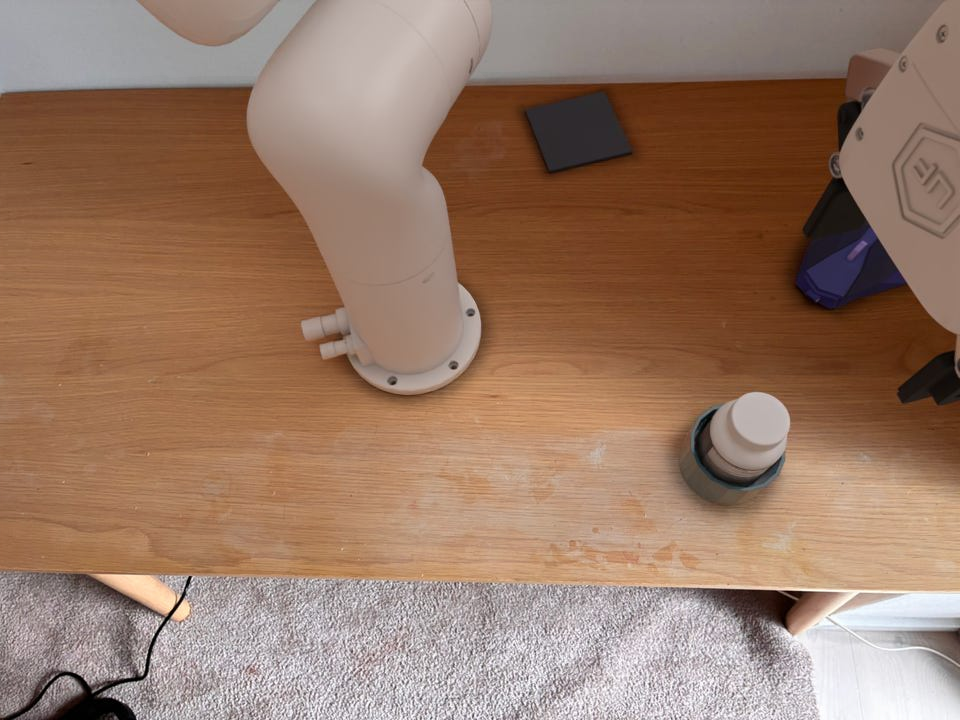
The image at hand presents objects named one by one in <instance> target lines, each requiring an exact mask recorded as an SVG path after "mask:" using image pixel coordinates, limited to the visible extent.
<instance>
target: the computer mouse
mask: <svg viewBox="0 0 960 720" xmlns="http://www.w3.org/2000/svg"><path fill="white" fill-rule="evenodd" d="M795 279H796V282H795V286H797V287H798V288H799V289H800V290H801V291H802V292H803V293H804V295H805V296H806V297H807V298H808V299H809V300H812V301H813V302H815V303H818V304H820V305H821V306H824V307H825V308H827V309H830V310H832V309H834V310H837V309H839V308H841V307H843V306H846V305H847V304H849V303H851V302H853V301H855V300H857V299H861V298H864V297H867V296H871V295H874V294H877V293H881V292H884V291H888V290H891V289H894V288H898V287H901V286H905V285H908V284H907V282H906V280H905V279H904V277H903V276H902V274H901V273H900V271H899V270H898V268H897V267H896V265H895V264H894V262H893V261H892V259H891V257H890V256H889V254H888V253H887V251H886V250H885V248H884V246H883V245H882V243H881V242H880V240H879V239H878V237H877V235H876V234H875V232H874V231H873V229H872V227H871V226H870V224H869V222H868V221H866V223H865V224H864V225H863V226H862V227H861V228H859V229H856V230H852V231H848V232H844V233H839V234H835V235H831V236H827V237H823V238H819V239H815V240H811V242H810V243H809V244H808V245H807V248H806V252H805V254H804V255H803V258H802V261H801V263H800V266H799V269H798V270H797V274H796V277H795Z"/></svg>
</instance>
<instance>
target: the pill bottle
mask: <svg viewBox="0 0 960 720" xmlns="http://www.w3.org/2000/svg"><path fill="white" fill-rule="evenodd" d="M723 404H724V405H722V406H721V407H720V408H719V409H718V410H717V411H716V413H715V414H714V416H713V417H712V419H711V420H710V422H709V423H708V425H707V426H706V428H705V429H704V431H703V432H702V433H701V435H700V436H699V438H698V439H697V441H696V443H695V451H696V453H697V456H698V458H699V460H700V463H701V465H702V466H703V467H704V468H705V469H706V470H707V471H708V472H709V473H710V474H711V475H712V476H713V477H714V478H716V479H718V480H720V481H722V482H724V483H726V484H728V485H730V486H739V487H748V486H750V485H751V484H752V483H754V482H755V481H756V480H757V479H758V478H759V477H760V476H761V475H762V474H763V473H764V472H765V471H766V470H768V469H769V468H770V467H771V466H772V465H773V464H774V463H775V462H776V461H777V460H778V459H779V458H780V457H781V456H782V454H783V452H784V450H785V451H786V448H787V445H788V434H789V430H790V429H791V417H790V414H789V411H788V409H787V408H786V406H785V404H783V402H782V401H781V400H779V399H778V398H776V397H775V396H773V395H771V394H769V393H766V392H761V391H752V392H747V393H745V394H743V395H741V396H739V397H738V398H735V399H733V400H730V401H727V402H725V403H723Z"/></svg>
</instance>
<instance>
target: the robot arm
mask: <svg viewBox="0 0 960 720" xmlns="http://www.w3.org/2000/svg"><path fill="white" fill-rule="evenodd" d="M136 2H137V3H139V5H141V6H142V7H143V8H144V9H145V10H146V11H147V12H148V13H149V14H150V15H152V16H153V17H154V18H155V19H156V20H157V21H158V22H160V23H161V24H162V25H163V26H165V27H166V28H168V29H169V30H170V31H172V32H173V33H175V34H176V35H177V36H179V37H181V38H183V39H185V40H187V41H189V42H191V43H192V44H193V43H194V44H195V45H199V46H205V47H215V48H216V47H221V46H224V45H225V46H226V45H228V44H231V43H233V42H235V41H236V40H238V39H241V38H242V37H243V36H245V35H247V34H249V32H250V31H251V30H253V29H254V28H255V27H256V26H258V25H259V24H260V23H261V22H262V21H263V19H265V18H266V16H268V14H269V13H271V12H272V11H273V9H274V8H275V7H276V6H277V5H278V3H280V2H281V0H136ZM492 30H493V9H492V2H491V0H315V1H314V2H313V3H312V4H311V6H310V7H309V8H308V9H307V10H306V11H305V13H304V14H303V15H302V16H301V18H300V19H299V20H298V22H297V23H296V24H295V25H294V26H293V28H292V29H291V30H290V31H289V32H288V34H287V35H286V36H285V38H283V40H282V41H281V42H280V43H279V44H278V46H277V47H276V49H275V50H274V52H272V54H271V56H270V57H269V58H268V59H267V61H266V63H265V64H264V66H263V68H262V69H261V71H260V73H259V75H258V77H257V79H256V81H255V83H254V85H253V87H252V90H251V92H250V95H249V99H248V102H247V103H248V104H247V108H246V129H247V134H248V139H249V141H250V144H251V146H252V147H253V149H254V152H255V153H256V155H257V156H258V158H259V160H260V161H261V162H262V164H263V165H264V167H265V168H266V170H267V171H268V172H269V173H270V174H271V175H272V177H273V178H274V180H275V181H276V182H277V183H278V184H279V185H280V187H281V189H283V190H284V192H285V193H286V194H287V195H288V197H289V198H290V199H291V201H292V202H293V203H294V205H295V207H296V208H297V210H298V211H299V212H300V214H301V216H302V218H303V220H304V221H305V224H307V227H308V229H309V231H310V233H311V235H312V237H313V240H314V242H315V244H316V246H317V248H318V250H319V253H320V255H321V257H322V259H323V261H324V263H325V265H326V268H327V270H328V272H329V275H330V276H331V279H332V281H333V284H334V286H335V288H336V291H337V292H338V295H339V298H340V300H341V302H342V304H343V307H339V308H336V309H335V313H331V314H328V315H323V316H322V315H321V316H320V315H319V316H315V317H311V318H307V319H303V320H300V328H301V332H302V334H303V337H304V340H305V341H306V342H307V343H308V342H312V341H316V340H320V339H325V338H327V337H328V336H332V335H335V334H340V333H341V336H342V339H340V340H336V341H334V340H332V341H329V342H325V343H321V344H319V351H320V355H321V358H322V361H325V360H330V359H333V358H337V357H338V356H343V355H347V358H348V360H349V363H351V366H352V367H353V369H354V370H355V371H356V373H357V374H358V375H359V376H360V377H361V378H362V379H363V380H365V381H366V382H367V383H368V384H370V385H371V386H373V387H375V388H377V389H379V390H381V391H382V392H386V393H391V394H395V395H404V396H411V395H412V396H414V395H423V394H427V393H430V392H431V393H432V392H434V391H437V390H439V389H441V388H444V387H446V386H447V385H449V384H451V383H452V382H454V381H455V380H457V379H458V378H459V377H460V376H461V375H462V374H463V373H464V372H465V371H466V370H467V369H468V368H469V366H470V365H471V363H472V362H473V361H474V360H475V357H476V355H477V352H478V351H479V348H480V344H481V339H482V320H481V313H480V310H479V308H478V305H477V303H476V301H475V300H474V297H473V296H472V294H471V293H470V291H468V290H467V289H466V287H464V286H463V285H462V284H461V283H460V282H459V281H458V274H457V268H456V260H455V251H454V246H453V240H452V239H453V238H452V233H451V226H450V220H449V213H448V212H449V211H448V206H447V201H446V197H445V195H444V191H443V188H442V186H441V184H440V183H439V181H438V179H437V178H436V177H435V176H434V174H433V173H432V172H431V171H430V170H428V169H427V168H426V167H424V166H423V163H424V160H425V157H426V153H427V152H428V149H429V147H430V146H431V143H432V142H433V140H434V138H435V136H436V134H438V131H439V129H440V128H441V126H442V125H443V124H444V121H446V118H447V117H448V114H449V112H450V110H451V109H452V107H453V106H454V104H455V102H456V101H457V99H458V97H459V96H460V94H461V93H462V91H463V90H464V88H465V87H466V86H467V84H468V82H469V81H470V79H471V77H472V75H473V74H474V72H475V71H476V69H477V67H478V66H479V64H480V63H481V62H482V61H481V60H482V59H483V56H484V55H485V53H486V52H487V51H486V50H487V48H488V46H489V43H490V39H491V36H492ZM847 67H848V68H847V73H846V81H845V87H844V94H843V96H844V97H846V99H845V102H844V103H841V104H840V105H839V107H838V109H837V115H836V120H837V121H836V123H837V124H836V125H837V145H838V151H836V152H833V153H831V154H830V156H829V158H828V162H827V163H828V171H829V173H830V175H831V176H832V178H831V179H830V181H829V182H828V184H827V186H826V187H825V189H824V190H823V193H822V194H821V196H820V198H819V199H818V201H817V203H816V204H815V206H814V208H813V209H812V211H811V213H810V214H809V216H808V218H807V220H806V221H805V223H804V224H803V226H802V230H801V231H802V232H803V234H804V235H805V238H806V239H810V240H811V241H813V240H815V239H819V238H823V237H827V236H831V235H835V234H839V233H844V232H848V231H852V230H856V229H859V228H861V227H862V226H863V225H864V224H865V223H866V221H868V222H869V224H870V226H871V227H872V229H873V231H874V232H875V234H876V235H877V237H878V239H879V240H880V242H881V243H882V245H883V246H884V248H885V250H886V251H887V253H888V254H889V256H890V257H891V259H892V261H893V262H894V264H895V265H896V267H897V268H898V270H899V271H900V273H901V274H902V276H903V277H904V279H905V280H906V282H907V284H906V285H908V287H909V289H910V290H911V292H912V293H913V294H914V296H915V297H916V299H917V300H918V301H919V303H920V305H922V307H923V308H924V310H925V312H927V314H928V315H929V316H931V318H932V320H934V321H935V322H936V323H938V324H939V325H940V326H941V327H942V328H944V329H945V330H947V331H949V332H951V333H953V334H954V335H956V336H955V346H954V347H955V349H953V350H949V351H945V352H942V353H939V354H937V355H936V356H934V357H933V358H932V359H931V360H929V361H928V362H927V363H926V364H925V365H923V366H922V367H921V368H920V369H919V370H917V371H916V372H915V373H914V374H912V375H911V376H910V377H909V378H907V380H905V381H904V382H903V383H902V384H901V385H899V386H898V387H897V392H896V396H897V397H898V399H899V401H900V402H901V404H902V405H905V404H909V403H913V402H917V401H921V400H925V399H928V398H932V399H933V401H934V403H935V404H936V405H937V406H938V407H941V406H946V405H949V404H953V403H956V402H960V0H944V1H943V2H942V3H941V4H940V5H939V7H937V8H936V10H935V11H934V13H932V15H931V16H930V17H929V18H928V19H927V21H926V22H925V23H924V24H923V25H922V27H921V28H920V29H919V31H917V33H916V34H915V36H914V37H912V39H911V40H910V42H909V43H908V44H907V45H906V47H905V49H903V51H902V52H901V53H900V52H899V51H895V50H892V49H891V50H890V49H887V48H884V47H878V48H874V49H869V50H865V51H861V52H856V53H854V54H852V55H851V56H850V58H849V62H848V66H847ZM453 368H455V369H453Z"/></svg>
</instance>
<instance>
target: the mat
mask: <svg viewBox="0 0 960 720" xmlns="http://www.w3.org/2000/svg"><path fill="white" fill-rule="evenodd" d="M605 92H606V91H600V92H599V91H598V92H595V93H590V94H586V95H583V96H579V97H574V98H570V99H564V100H559V101H556V102H551V103H548V104H543V105H539V106H535V107H531V108H530V107H529V108H526V109H524V113H525V116H526V119H527V121H528V123H529V126H530V128H531V130H532V133H533V136H534V138H535V140H536V143H537V146H538V149H539V151H540V154H541V156H542V158H543V161H544V164H545V166H546V169H547V171H548V173H549V174H553V173H557V172H561V171H564V170H569V169H573V168H577V167H582V166H586V165H591V164H595V163H597V162H598V163H599V162H602V161H607V160H611V159H615V158H619V157H625V156H628V155H632V154H633V153H634V151H633V149H632V147H631V144H630V142H629V140H628V139H627V136H626V134H625V132H624V129H623V128H622V126H621V123H620V121H619V120H618V118H617V116H616V113H615V111H614V109H613V106H612V105H611V103H610V101H609V98H608V96H607V95H606V93H605Z"/></svg>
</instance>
